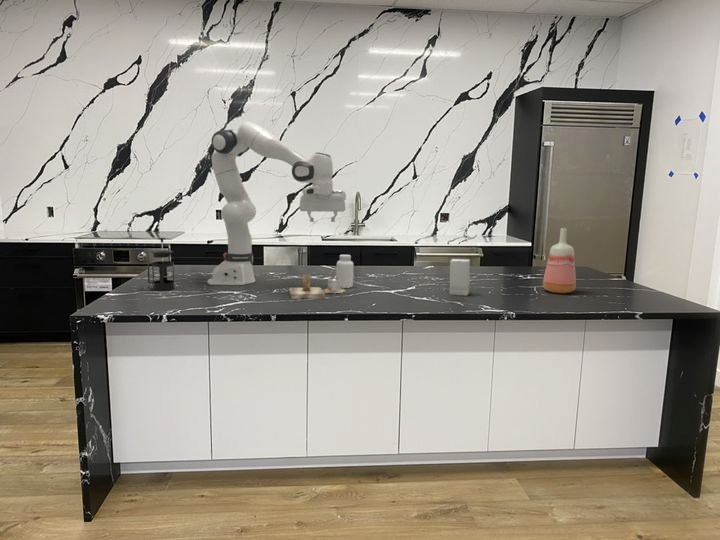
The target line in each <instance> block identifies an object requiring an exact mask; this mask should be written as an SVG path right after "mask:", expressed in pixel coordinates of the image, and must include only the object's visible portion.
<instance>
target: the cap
mask: <svg viewBox="0 0 720 540" xmlns="http://www.w3.org/2000/svg"><path fill="white" fill-rule="evenodd" d="M327 289H328V291H333V292H337V291H340V289H341V288H340V278H336V277H331V276H330V277H329V278H327Z"/></svg>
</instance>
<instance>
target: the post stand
mask: <svg viewBox="0 0 720 540" xmlns="http://www.w3.org/2000/svg"><path fill="white" fill-rule="evenodd" d="M288 293H289V296H290V299H291V300H302V298H310V299H325V298H326V293H324V292H323V289H322V288H321V287H320V286H314V287H313V286H311V273H310V274H309V273H303V274H302V287H288Z"/></svg>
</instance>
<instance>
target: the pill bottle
mask: <svg viewBox="0 0 720 540" xmlns="http://www.w3.org/2000/svg"><path fill="white" fill-rule="evenodd" d="M351 259H352V256H351V254H340V255H339V260H337V262H336V272H335V275H336V276H335V278H340V289H350V287H351V288H353V286H354V262H353V260H351Z"/></svg>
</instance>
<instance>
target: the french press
mask: <svg viewBox="0 0 720 540" xmlns="http://www.w3.org/2000/svg"><path fill="white" fill-rule="evenodd" d="M167 239H168V238H166V237H158V238H156V240H160V243H161V250H153V251H151V254H152V258H159V259H161V260H160V261H159V260H158V261H153V262H148V263H147V280H148V281H147V283H148V284H152V291H156V292H169V291H173V290H175V289H176V287H175V271H174V270H175V269H174V265H175V264H174V261H171V260H170V261H169V260H168V261H167V260H165V261H164V258H169V257H170V256H172V253H173V252H174V251H173V250H167V249H165V250H164V248H163V247H164V246H163V243H164V240H167ZM150 265H151V267H152V268H151V270H152V281H150V279H151V278H150ZM168 267H172V273H168V270H167V269H168ZM155 268H158V273H156V274H155V273H154V271H155V270H154V269H155ZM155 278H158V279H159V280H155ZM168 278H172V280H171V279H168Z"/></svg>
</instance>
